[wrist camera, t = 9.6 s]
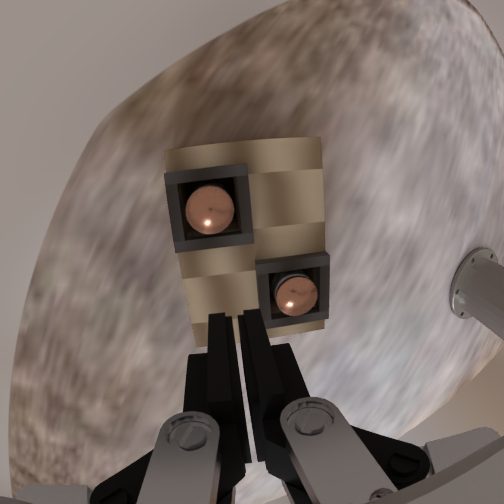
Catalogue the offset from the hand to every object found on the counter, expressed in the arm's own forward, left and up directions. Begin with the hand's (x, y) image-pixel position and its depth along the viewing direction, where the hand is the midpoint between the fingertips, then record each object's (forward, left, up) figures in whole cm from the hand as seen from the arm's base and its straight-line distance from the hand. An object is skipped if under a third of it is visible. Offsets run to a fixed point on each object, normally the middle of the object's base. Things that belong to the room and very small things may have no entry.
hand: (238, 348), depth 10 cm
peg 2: (-6, +7, -23) cm, 25 cm away
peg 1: (+1, -2, -23) cm, 23 cm away
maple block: (-3, +3, -23) cm, 24 cm away
